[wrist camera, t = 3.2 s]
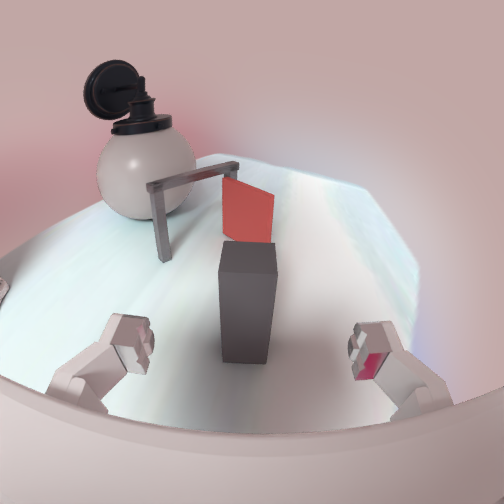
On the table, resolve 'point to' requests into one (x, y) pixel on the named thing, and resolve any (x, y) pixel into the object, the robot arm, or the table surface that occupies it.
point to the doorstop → (246, 300)
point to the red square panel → (246, 212)
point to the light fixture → (135, 142)
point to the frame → (170, 182)
